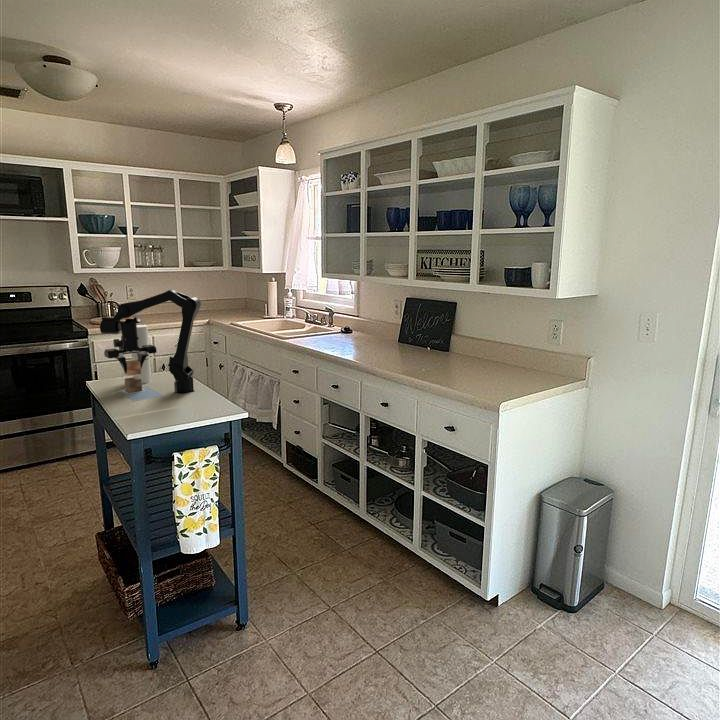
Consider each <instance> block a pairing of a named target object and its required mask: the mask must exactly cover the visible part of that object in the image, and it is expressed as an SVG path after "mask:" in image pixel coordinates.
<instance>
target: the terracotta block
mask: <svg viewBox="0 0 720 720" xmlns="http://www.w3.org/2000/svg"><path fill="white" fill-rule="evenodd" d="M126 368H127V373H125V372H124V371H123V374H124V375H127V376H129V377H130V376H133V375H136V374H141V365H140V361H138V360H132V359H130V360H126Z"/></svg>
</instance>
